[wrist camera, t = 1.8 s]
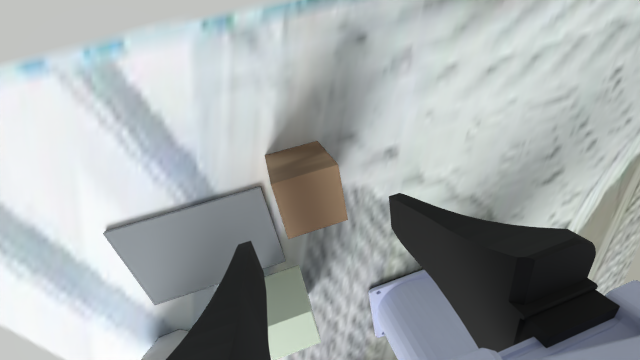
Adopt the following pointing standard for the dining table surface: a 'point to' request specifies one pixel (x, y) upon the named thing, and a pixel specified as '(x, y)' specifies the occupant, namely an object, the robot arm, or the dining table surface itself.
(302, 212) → the walnut block
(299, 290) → the sage block
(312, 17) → the dining table surface
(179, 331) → the salt shaker
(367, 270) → the dining table surface
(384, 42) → the dining table surface
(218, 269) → the slate mat
